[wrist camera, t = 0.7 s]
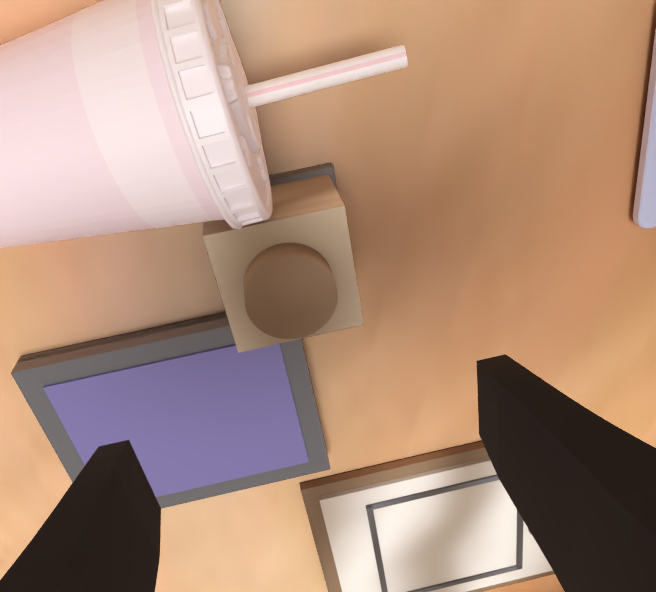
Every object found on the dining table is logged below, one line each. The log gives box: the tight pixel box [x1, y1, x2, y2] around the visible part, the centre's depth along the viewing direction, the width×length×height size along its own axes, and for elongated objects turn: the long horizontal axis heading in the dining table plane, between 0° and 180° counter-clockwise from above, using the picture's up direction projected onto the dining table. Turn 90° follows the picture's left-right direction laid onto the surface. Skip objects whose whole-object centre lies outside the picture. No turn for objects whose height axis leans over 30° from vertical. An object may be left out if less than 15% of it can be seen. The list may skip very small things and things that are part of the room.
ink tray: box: [11, 312, 330, 508], centre depth 22 cm, size 10×8×1 cm
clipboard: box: [300, 441, 555, 592], centre depth 28 cm, size 14×11×1 cm
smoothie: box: [0, 0, 407, 248], centre depth 14 cm, size 6×6×14 cm
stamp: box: [203, 163, 364, 353], centre depth 18 cm, size 4×4×5 cm
